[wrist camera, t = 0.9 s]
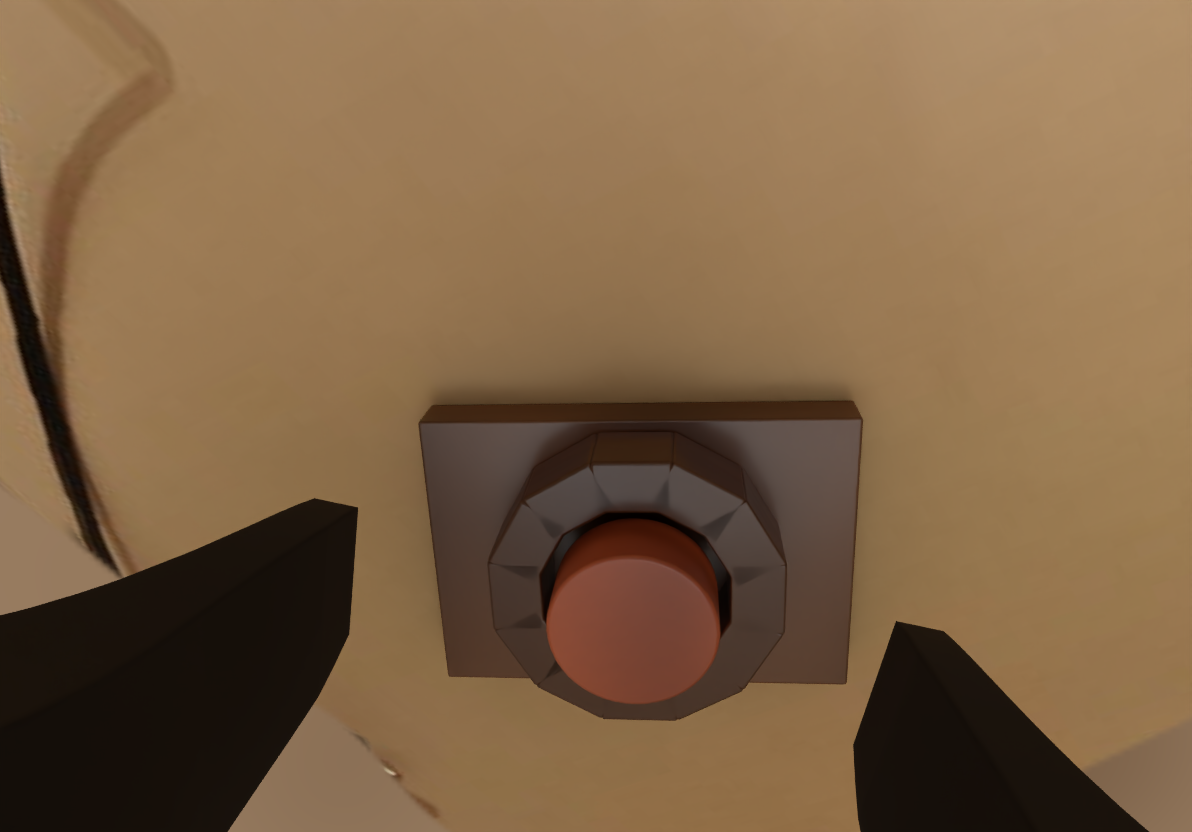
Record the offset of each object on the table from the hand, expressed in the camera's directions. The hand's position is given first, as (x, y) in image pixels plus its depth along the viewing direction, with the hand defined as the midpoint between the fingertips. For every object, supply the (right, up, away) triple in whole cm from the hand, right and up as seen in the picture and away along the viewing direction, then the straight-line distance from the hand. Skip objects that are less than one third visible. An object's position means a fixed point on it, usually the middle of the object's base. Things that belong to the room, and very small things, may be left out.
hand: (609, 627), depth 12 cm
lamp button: (+1, -1, +8) cm, 8 cm away
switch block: (+1, 0, +11) cm, 11 cm away
